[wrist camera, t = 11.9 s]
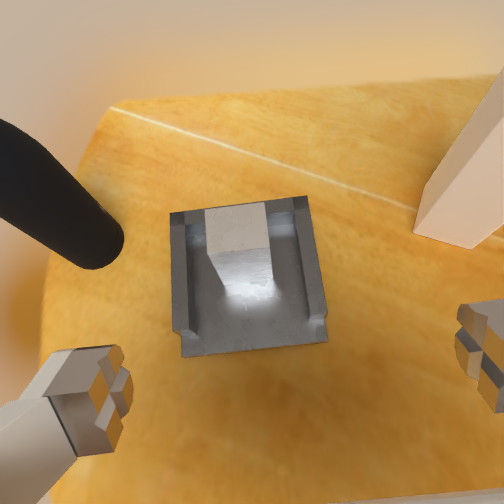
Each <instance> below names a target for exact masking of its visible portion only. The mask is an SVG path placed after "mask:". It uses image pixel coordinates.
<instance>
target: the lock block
mask: <svg viewBox="0 0 504 504" xmlns="http://www.w3.org/2000/svg"><path fill="white" fill-rule="evenodd" d="M205 225H206V241H207V255H208V256H209V258H210V260H211V262H212V264H213V266H214V267H215V269H216V271H217V273H218V275H219V277H220V278H221V280H222V282H223V284H224V285H230V284H238V283H246V282H255V281H263V280H271V279H273V273H272V263H271V254H270V244H269V236H268V228H267V220H266V212H265V204H264V202H260V203H252V204H245V205H237V206H229V207H221V208H213V209H205Z"/></svg>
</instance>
